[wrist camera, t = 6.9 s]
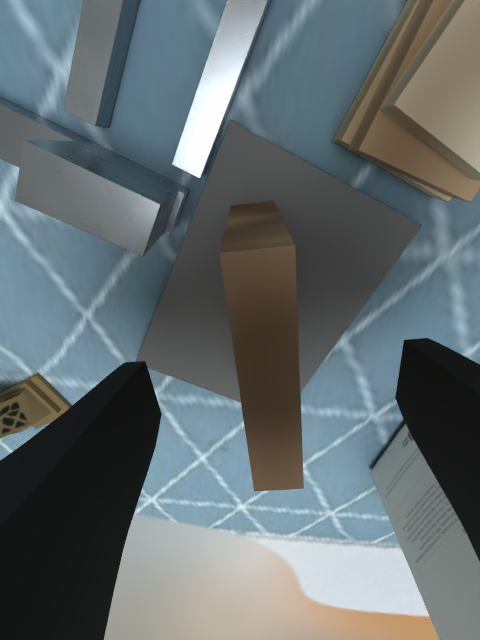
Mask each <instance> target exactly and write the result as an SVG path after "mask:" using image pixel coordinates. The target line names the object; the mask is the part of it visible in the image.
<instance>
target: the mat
mask: <svg viewBox="0 0 480 640" xmlns="http://www.w3.org/2000/svg"><path fill="white" fill-rule="evenodd" d="M267 201H274V202H275V204H276V207H277V209H278V211H279V213H280V215H281V217H282V219H283V221H284V223H285V225H286V227H287V229H288V231H289V233H290V235H291V237H292V240H293V242H294V244H295V255H296V284H297V312H298V341H299V370H300V392H301V391H302V390H303V388H304V387H305V385H306V384H307V383H308V381H309V380H310V379H311V377H312V376H313V374H314V373H315V372H316V370H317V369H318V368H319V366H320V365H321V363H322V362H323V361H324V359H325V358H326V357H327V355H328V354H329V352H330V351H331V350H332V348H333V347H334V346H335V344H336V343H337V341H338V340H339V339H340V337H341V336H342V335H343V333H344V332H345V330H346V329H347V328H348V326H349V325H350V324H351V322H352V321H353V319H354V318H355V317H356V315H357V314H358V313H359V311H360V310H361V308H362V307H363V306H364V304H365V303H366V302H367V300H368V299H369V297H370V296H371V295H372V293H373V292H374V291H375V289H376V288H377V286H378V285H379V284H380V282H381V281H382V280H383V278H384V277H385V275H386V274H387V273H388V271H389V270H390V269H391V267H392V266H393V264H394V263H395V262H396V260H397V259H398V258H399V256H400V255H401V253H402V252H403V251H404V249H405V248H406V247H407V245H408V244H409V242H410V241H411V240H412V238H413V237H414V236H415V234H416V233H417V231H418V230H419V229H420V227H421V226H422V225H421V224H419V223H417V222H415V221H413V220H412V219H410V218H408V217H406V216H404V215H402V214H401V213H399V212H397V211H395V210H393V209H392V208H390V207H388V206H386V205H384V204H382V203H381V202H379V201H377V200H375V199H373V198H371V197H370V196H368V195H366V194H364V193H362V192H361V191H359V190H357V189H355V188H353V187H351V186H350V185H348V184H346V183H344V182H342V181H340V180H339V179H337V178H335V177H333V176H331V175H329V174H328V173H326V172H324V171H322V170H320V169H319V168H317V167H315V166H313V165H311V164H309V163H308V162H306V161H304V160H302V159H300V158H298V157H297V156H295V155H293V154H291V153H289V152H287V151H286V150H284V149H282V148H280V147H278V146H277V145H275V144H273V143H271V142H269V141H267V140H266V139H264V138H262V137H260V136H258V135H256V134H255V133H253V132H251V131H249V130H247V129H246V128H244V127H242V126H240V125H238V124H236V123H235V122H233V121H231V120H230V122H229V125H228V127H227V130H226V133H225V135H224V138H223V140H222V143H221V145H220V148H219V150H218V153H217V156H216V158H215V161H214V163H213V166H212V168H211V171H210V173H209V176H208V179H207V181H206V184H205V186H204V189H203V191H202V194H201V196H200V199H199V202H198V204H197V207H196V209H195V212H194V214H193V217H192V219H191V222H190V225H189V227H188V230H187V232H186V235H185V237H184V240H183V242H182V245H181V248H180V250H179V253H178V255H177V258H176V260H175V263H174V265H173V268H172V271H171V273H170V276H169V278H168V281H167V283H166V286H165V288H164V291H163V294H162V296H161V299H160V301H159V304H158V306H157V309H156V311H155V314H154V317H153V319H152V322H151V324H150V327H149V329H148V332H147V334H146V337H145V340H144V342H143V345H142V347H141V350H140V352H139V355H138V357H137V360H136V362H138V361H145V362H146V365H147V368H150V369H153V370H156V371H158V372H161V373H164V374H166V375H169V376H172V377H174V378H177V379H180V380H182V381H185V382H188V383H191V384H193V385H196V386H199V387H201V388H204V389H207V390H209V391H212V392H215V393H218V394H220V395H223V396H226V397H228V398H231V399H234V400H236V401H239V402H241V398H240V391H239V384H238V377H237V371H236V364H235V357H234V350H233V343H232V337H231V330H230V323H229V316H228V309H227V303H226V296H225V289H224V282H223V276H222V269H221V262H220V255H219V252H220V248H221V244H222V240H223V236H224V231H225V227H226V223H227V219H228V215H229V211H230V207H231V206H233V205H241V204H250V203H259V202H267Z"/></svg>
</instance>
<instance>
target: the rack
mask: <svg viewBox="0 0 480 640" xmlns="http://www.w3.org/2000/svg"><path fill="white" fill-rule="evenodd" d="M139 1H140V0H83V5H82V11H81V16H80V22H79V27H78V33H77V38H76V44H75V50H74V55H73V61H72V66H71V72H70V77H69V83H68V88H67V94H66V99H65V105H64V110H65V111H67V112H69V113H71V114H73V115H75V116H77V117H79V118H81V119H83V120H85V121H87V122H89V123H91V124H93V125H95V126H101V127H109V125H110V121H111V117H112V113H113V109H114V105H115V100H116V96H117V92H118V88H119V84H120V80H121V76H122V71H123V67H124V63H125V59H126V55H127V51H128V47H129V42H130V38H131V34H132V30H133V26H134V22H135V18H136V13H137V9H138V5H139ZM270 2H271V0H227V3H226V6H225V9H224V12H223V15H222V17H221V20H220V23H219V26H218V29H217V32H216V35H215V38H214V41H213V44H212V47H211V50H210V53H209V56H208V59H207V62H206V65H205V68H204V71H203V74H202V77H201V80H200V83H199V86H198V89H197V92H196V95H195V98H194V101H193V104H192V107H191V109H190V112H189V115H188V118H187V121H186V124H185V127H184V130H183V133H182V136H181V139H180V142H179V145H178V148H177V151H176V154H175V157H174V160H173V163H172V165H174V166H176V167H178V168H180V169H182V170H184V171H186V172H188V173H190V174H192V175H194V176H196V177H198V178H201V177H202V176H203V175H204V173H205V171H206V168H207V166H208V163H209V160H210V158H211V155H212V153H213V150H214V147H215V145H216V142H217V140H218V137H219V134H220V132H221V129H222V127H223V124H224V121H225V119H226V116H227V114H228V111H229V108H230V106H231V103H232V101H233V98H234V95H235V93H236V90H237V88H238V85H239V82H240V80H241V77H242V75H243V72H244V69H245V67H246V64H247V62H248V59H249V56H250V54H251V51H252V49H253V46H254V43H255V41H256V38H257V36H258V33H259V30H260V28H261V25H262V23H263V20H264V17H265V15H266V12H267V10H268V7H269V4H270ZM0 159H2V160H4V161H7V162H9V163H11V164H13V165H15V166H18V167H20V170H19V177H18V185H17V192H16V199H15V201H17V202H19V203H22V204H24V205H26V206H28V207H31V208H33V209H35V210H38V211H40V212H42V213H44V214H47V215H49V216H51V217H54V218H56V219H58V220H60V221H63V222H65V223H67V224H70V225H72V226H74V227H77V228H79V229H81V230H83V231H86V232H88V233H90V234H93V235H95V236H97V237H99V238H102V239H104V240H106V241H109V242H111V243H113V244H115V245H118V246H120V247H122V248H125V249H127V250H129V251H131V252H134V253H136V254H138V255H141V256H143V255H144V254H145V253H146V252H147V251H148V250H149V249H150V248H151V247H152V246H153V245H154V243H155V242H156V241H157V240H158V239H159V238H160V237H161V236H162V235H163V234H166V235H170V234H171V233H172V231H173V230H174V229H175V227H176V225H177V222H178V219H179V216H180V214H181V211H182V208H183V206H184V203H185V200H186V198H187V195H188V192H189V189H187V188H185V187H183V186H181V185H179V184H177V183H175V182H173V181H171V180H169V179H167V178H165V177H163V176H161V175H159V174H157V173H154V172H152V171H150V170H148V169H146V168H144V167H142V166H140V165H138V164H136V163H134V162H132V161H130V160H128V159H126V158H124V157H122V156H120V155H118V154H116V153H114V152H112V151H110V150H108V149H106V148H104V147H102V146H99V145H97V144H95V143H93V142H91V141H89V140H87V139H85V138H83V137H81V136H79V135H77V134H75V133H73V132H71V131H69V130H67V129H65V128H63V127H61V126H59V125H57V124H55V123H53V122H51V121H49V120H47V119H44V118H42V117H40V116H38V115H36V114H34V113H32V112H30V111H28V110H26V109H24V108H22V107H20V106H18V105H16V104H14V103H12V102H10V101H8V100H6V99H4V98H2V97H0Z"/></svg>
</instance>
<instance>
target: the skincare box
mask: <svg viewBox="0 0 480 640" xmlns="http://www.w3.org/2000/svg"><path fill="white" fill-rule="evenodd" d="M371 476H372V479H373V481H374V484H375V486H376V488H377V491H378V493H379V495H380V498H381V500H382V503H383V505H384V508H385V510H386V512H387V515H388V517H389V520H390V522H391V524H392V527H393V529H394V532H395V534H396V536H397V538H398V541H399V543H400V546H401V548H402V551H403V553H404V555H405V558H406V560H407V562H408V565H409V567H410V570H411V572H412V574H413V577H414V579H415V582H416V584H417V587H418V589H419V592H420V594H421V596H422V598H423V601H424V603H425V606H426V608H427V611H428V613H429V615H430V618H431V621H432V623H433V625H434V627H435V630H436V632H437V634H438V636H439V639H440V640H480V562H479V559H478V557H477V555H476V553H475V551H474V549H473V546H472V544H471V542H470V540H469V538H468V536H467V533H466V532H465V530H464V528H463V526H462V524H461V522H460V520H459V518H458V516H457V514H456V513H455V511H454V509H453V507H452V506H451V504H450V502H449V500H448V499H447V497H446V495H445V493H444V492H443V490H442V488H441V487H440V485H439V483H438V481H437V480H436V478H435V476H434V474H433V473H432V471H431V469H430V467H429V466H428V464H427V462H426V460H425V459H424V457H423V455H422V453H421V452H420V450H419V448H418V446H417V445H416V443H415V441H414V439H413V437H412V436H411V434H410V432H409V430H408V427H407V425H406V423H405V425H404V426H403V427H402V429H401V430H400V431H399V432H398V434H397V435H396V437H395V438H394V439H393V441H392V442H391V444H390V445H389V446H388V448H387V449H386V451H385V452H384V453H383V455H382V456H381V457H380V459H379V460H378V462H377V463H376V465H375V466H374V468H373V469H372V471H371Z"/></svg>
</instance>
